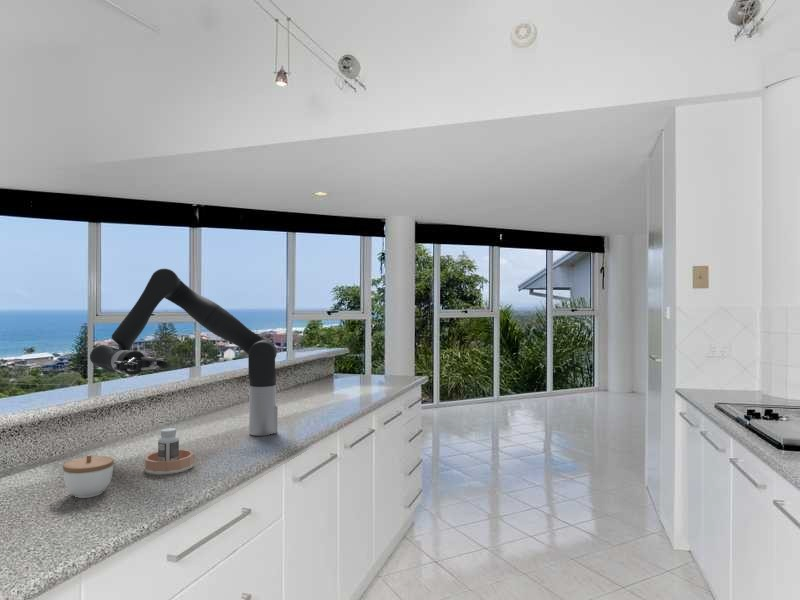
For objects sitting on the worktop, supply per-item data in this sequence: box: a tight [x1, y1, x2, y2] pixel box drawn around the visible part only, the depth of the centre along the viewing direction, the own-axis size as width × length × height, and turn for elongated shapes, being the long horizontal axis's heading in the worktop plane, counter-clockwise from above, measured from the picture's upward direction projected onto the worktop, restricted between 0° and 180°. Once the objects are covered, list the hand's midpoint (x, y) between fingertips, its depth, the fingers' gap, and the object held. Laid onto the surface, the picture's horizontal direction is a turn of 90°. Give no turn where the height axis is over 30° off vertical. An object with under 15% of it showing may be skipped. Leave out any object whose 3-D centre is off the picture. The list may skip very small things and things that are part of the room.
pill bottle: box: [157, 427, 180, 461], centre depth 153 cm, size 5×5×10 cm
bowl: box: [143, 448, 195, 476], centre depth 153 cm, size 13×13×4 cm
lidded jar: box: [62, 454, 115, 499], centre depth 132 cm, size 11×11×9 cm
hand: (151, 365), depth 161 cm, fingers open, 8 cm apart
